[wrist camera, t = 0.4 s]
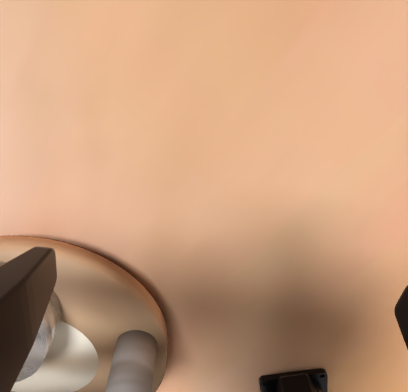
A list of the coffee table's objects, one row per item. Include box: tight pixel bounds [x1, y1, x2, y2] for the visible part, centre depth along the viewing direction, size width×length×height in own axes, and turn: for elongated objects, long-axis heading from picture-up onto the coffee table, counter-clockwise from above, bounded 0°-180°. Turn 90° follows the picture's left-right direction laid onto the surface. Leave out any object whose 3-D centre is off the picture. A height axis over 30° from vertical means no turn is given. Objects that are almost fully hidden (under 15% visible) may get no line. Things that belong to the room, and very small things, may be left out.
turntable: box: [0, 236, 168, 392], centre depth 24 cm, size 20×20×7 cm
